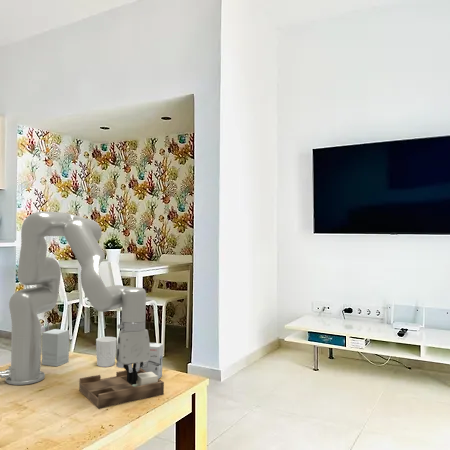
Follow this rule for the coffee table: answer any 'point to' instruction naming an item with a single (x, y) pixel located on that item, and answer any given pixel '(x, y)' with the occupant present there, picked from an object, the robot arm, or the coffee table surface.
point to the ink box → (154, 360)
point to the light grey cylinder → (106, 351)
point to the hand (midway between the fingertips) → (132, 383)
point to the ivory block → (146, 378)
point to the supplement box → (55, 347)
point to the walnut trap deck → (117, 389)
